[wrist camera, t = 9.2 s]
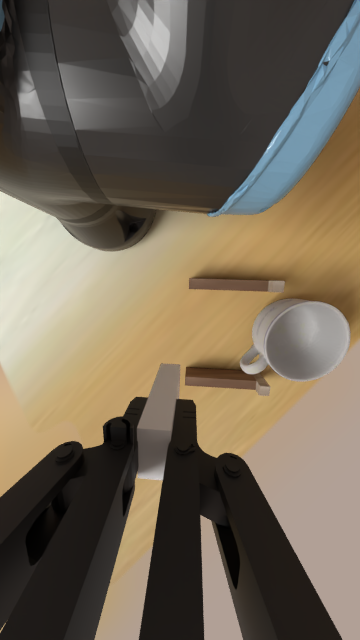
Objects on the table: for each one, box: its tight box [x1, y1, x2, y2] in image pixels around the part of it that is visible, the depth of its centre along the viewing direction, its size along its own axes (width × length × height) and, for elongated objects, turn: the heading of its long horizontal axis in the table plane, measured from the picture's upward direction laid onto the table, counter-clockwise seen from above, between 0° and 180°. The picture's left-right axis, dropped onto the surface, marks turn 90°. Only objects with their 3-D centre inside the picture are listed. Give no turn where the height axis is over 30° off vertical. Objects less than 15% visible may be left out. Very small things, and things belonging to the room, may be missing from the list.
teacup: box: [240, 298, 350, 381], centre depth 28 cm, size 14×11×8 cm
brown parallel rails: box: [185, 278, 285, 396], centre depth 29 cm, size 17×13×5 cm
